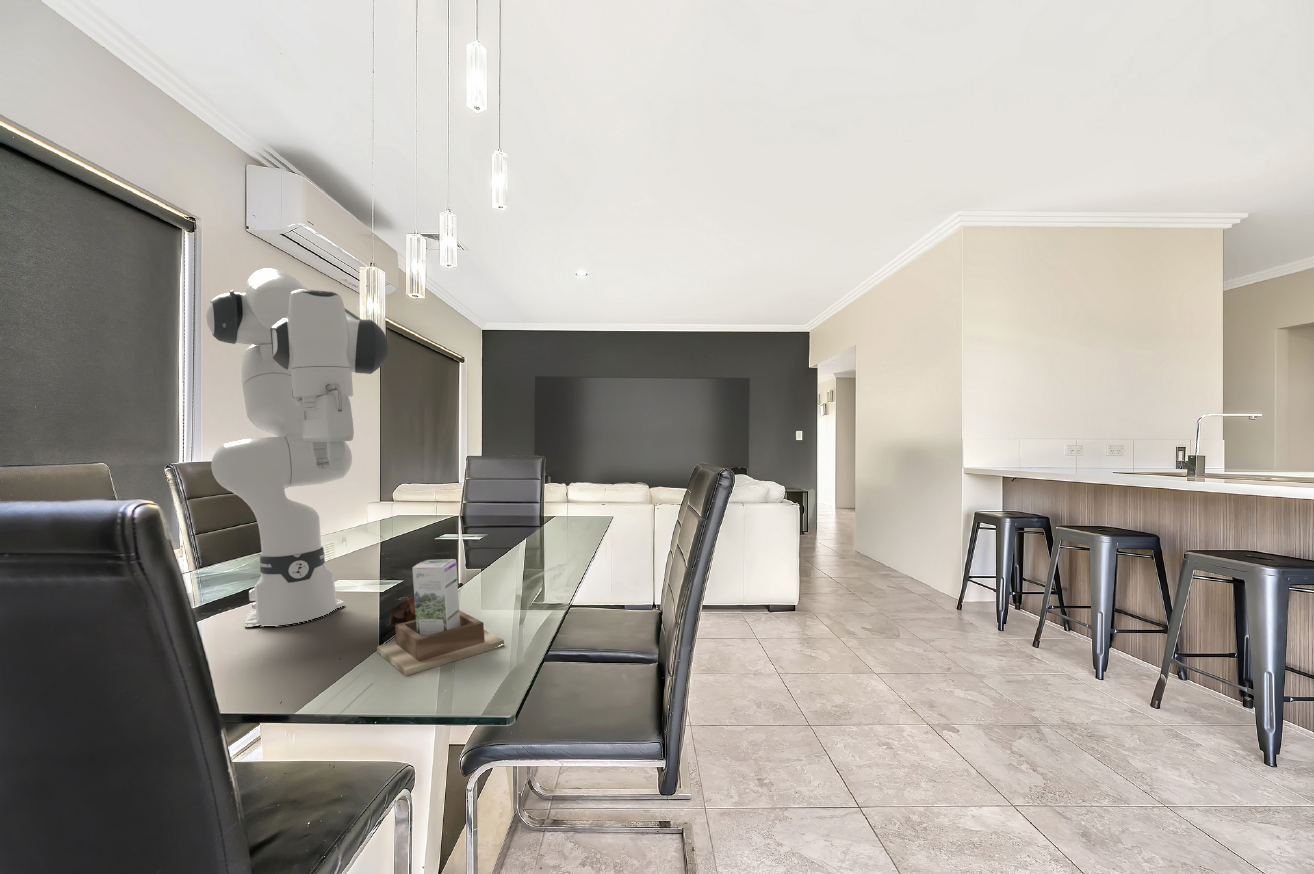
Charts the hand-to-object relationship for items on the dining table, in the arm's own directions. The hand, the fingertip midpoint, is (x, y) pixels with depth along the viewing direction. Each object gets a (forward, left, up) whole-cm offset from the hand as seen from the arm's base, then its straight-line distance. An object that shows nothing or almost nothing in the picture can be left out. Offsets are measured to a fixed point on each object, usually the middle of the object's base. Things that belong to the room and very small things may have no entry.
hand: (329, 469), depth 103 cm
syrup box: (+6, +14, -32) cm, 36 cm away
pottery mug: (-6, +16, -33) cm, 37 cm away
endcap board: (+6, +14, -33) cm, 37 cm away
